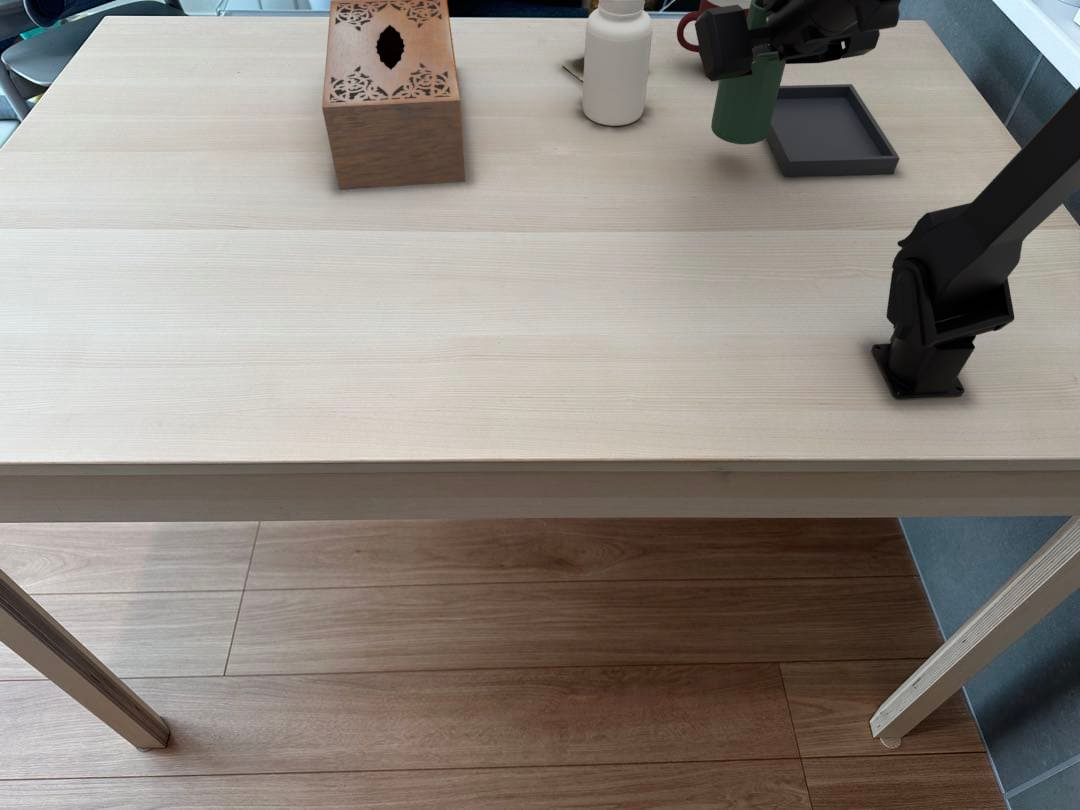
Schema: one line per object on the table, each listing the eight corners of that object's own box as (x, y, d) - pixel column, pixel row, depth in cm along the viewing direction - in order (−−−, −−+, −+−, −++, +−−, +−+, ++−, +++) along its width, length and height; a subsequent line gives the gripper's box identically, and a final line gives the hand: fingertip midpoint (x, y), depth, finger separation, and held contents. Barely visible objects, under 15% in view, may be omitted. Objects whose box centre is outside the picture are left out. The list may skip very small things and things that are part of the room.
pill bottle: (605, 89, 106) (615, -31, 94) (655, 109, 103) (671, -12, 91) (568, 112, 102) (574, -10, 90) (619, 135, 99) (631, 11, 87)
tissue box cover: (344, 77, 107) (330, 0, 99) (451, 71, 108) (446, -5, 101) (339, 189, 91) (322, 107, 83) (465, 181, 92) (460, 100, 84)
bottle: (727, 148, 89) (755, 21, 78) (701, 120, 92) (723, -6, 82) (777, 139, 90) (811, 12, 79) (749, 111, 94) (778, -14, 83)
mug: (674, 84, 107) (686, 8, 99) (669, 55, 112) (680, -19, 105) (753, 86, 107) (770, 10, 99) (744, 57, 112) (760, -18, 105)
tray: (893, 173, 94) (900, 158, 93) (784, 177, 93) (789, 161, 92) (847, 98, 105) (852, 83, 104) (749, 101, 104) (752, 86, 103)
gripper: (903, -104, 73) (806, -23, 88) (722, -82, 69) (653, -1, 84) (925, 20, 74) (825, 79, 89) (748, 49, 70) (675, 106, 85)
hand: (746, 63), depth 87 cm, fingers closed on bottle, 6 cm apart
